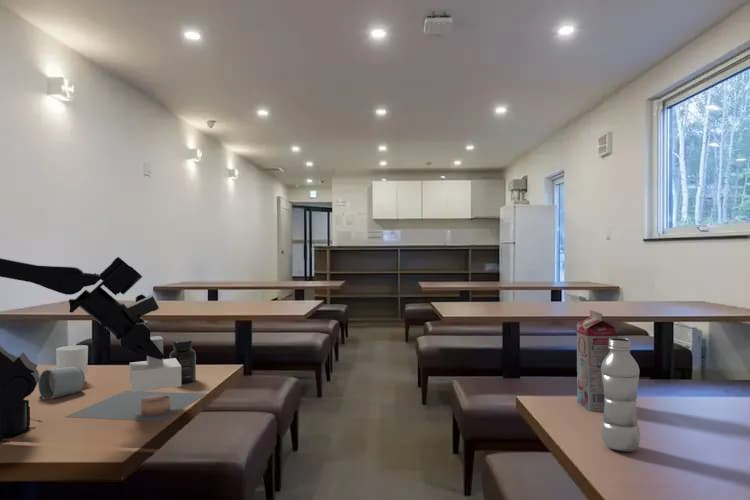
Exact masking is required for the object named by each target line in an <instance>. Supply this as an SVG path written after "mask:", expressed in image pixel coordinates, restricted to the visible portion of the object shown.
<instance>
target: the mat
mask: <svg viewBox="0 0 750 500" xmlns="http://www.w3.org/2000/svg"><path fill="white" fill-rule="evenodd" d="M158 395H165V396H169V397H170V411H169V412H167V413H164V414H161V415H154V416H145V415H142V414H141V400H142V399H144V398H147V397H151V396H158ZM206 395H208V393H200V392H199V393H197V392H196V393H195V392H171V391H170V392H169V391H139V392H132V391H131V390H124V391H121V392H120V393H117V394H115V395H112V396H110V397H108V398H105V399H103V400H101V401H98V402H96V403H94V404H91V405H89V406H87V407H85V408H82V409H79V410H78V411H75V412H73V413H70V414H68V415H66V416H65V418H76V419H99V420H102V419H103V420H121V421H123V420H124V421H143V422H144V421H145V422H146V421H147V422H162V421H164V420H166V419H168V418H170V417H172V415H175V414H176V413H177V412H179V411H181V410H183V409H185V408H186V407H188V406H190V405H192V404H194V403H195V402H197V401H198V400H200V399H202V398H203V397H205V396H206Z"/></svg>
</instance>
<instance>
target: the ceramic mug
mask: <svg viewBox="0 0 750 500" xmlns="http://www.w3.org/2000/svg"><path fill="white" fill-rule="evenodd" d="M85 383H86V382H85V378H84V374H83V372H82V370H81V369H80V368H78V367H71V366H70V367H63V368H57V367H56V368H46V369H45V370H43V371H42V372H41V374H39V381H38V383H37V386H38V391H39V395H40V396H41V398H42V399H44V400H48V399H50V400H53V399H57V398H61V397H64V396H68V395H73V394H76V393H79V392H80V391H82V389H83V388H84V386H85Z"/></svg>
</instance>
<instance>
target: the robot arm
mask: <svg viewBox="0 0 750 500" xmlns="http://www.w3.org/2000/svg"><path fill="white" fill-rule="evenodd" d="M0 278H5V279H9V280H10V279H11V280H16V281H22V282H28V283H32V284H36V285H38V286H40V287H43V288H46V289H48V290H52V291H54V292H57V293H60V294H63V295H67V296H68V295H69V296H72V295H75V294H78V293H79V292H81V293H80V294H79V295H78V296H77V297H76V298H70V299H68V304H69V312H70V314H71V313H74V312H75V311H76V310H77V309H78V308H80V309H82V310H83V311H84V312H85V313H87V314H88V315H89V316H90V317H92V318H93V319H94V320H95V321H96V322H97V323H99V325H100V326H101V328H103V329H106V330H107V331H108V332H109V333H111V334H112V335H114V337H115V339H117V341H119V346H120V348H121V349H122V350H124V351H125V352H126V353H128V352H131V353H136V354H139V355H142V356H146V357H147V356H149V357H153V358H156V359H160V360H161V359H162V358H163V359H164V358H165V355H164V353H163V354H162V352H161V351H160V350H159V349H158V347H157V346H156V345H155V344H154V342H153V341H152V340H151V339H150V337H151V329H150V327H149V326H148V324H147V323H145V322H146V321H145V320H144V319H143V318H142V317H143V316H145V315H147V314H150V313H152V312H156V311H158V310H159V309H160V307H159V305H158V303H157V301H156V299H155V297H154V295H147V296H146V295H144V294H142V293H141V294H138V295H137V296H135V302H132V304H129V305H126V304H124V303H120V302H119V301H118V300H117V299H115V298H114V297H113V296H112V295H110V293H109V292H111V293H112V294H113V295H114V296H117V295H119V294H122V295H125V294H126V293H127V292H128V291H129V290H130V289H132V288H133V287H134V286H135V284H137V283H138V282H139V281H140V280H141V279H142V278H143V276H142V275H141V274H140V273H139V272H138V271H137V270H136V269H135V268H134V267H132V265H129V264H127V263H126V261H124V260H123V259H122V258H120V256H118V257H116V258H115V259H114V260H113V261H112V262H111V264H109V265H108V266H107V267H106V268H105V269H104V270H103V271H102V272H100V273H96V272H94V273H89V272H84V271H83V270H82V269H80V268H79V267H75V266H65V265H63V266H61V265H44V264H43V265H42V264H40V265H39V264H34V263H29V262H24V261H23V262H22V261H18V260H13V259H9V258H3V257H0ZM100 280H101V282H100V283H99V284H98V285H96V284H97V283H98V282H99V281H100ZM94 285H96V286H95V288H93V290H91V291H89V290H88V289H85V290H84V291H81V290H83V288H85V287H86V288H87V287H90V286H94ZM102 286H104V287H105V288H106V289H107V290H109V292H107V291H106V289H103V288H102ZM37 368H38V364H36V363H34V362H33V361H32V360H30V359H29V357H28V356H27V354H25V352H21V353H20V354H19V355H18V356H16V355H14V354H11V353H9V351H6V349H4V348H3V347H2V346H1V345H0V441H4V442H5V441H8V440H10V439H13V438H16V437H18V436H21V435H22V434H24V433H27V432H30V431H32V430H34V429H36V426H31V407H30V403H29V402H30V401H29V399H26V398H27V397H29V396H30V395H32V393H34V391H35V389H36V387H37V386H38V382H39V377H40V372H39V370H38V369H37Z"/></svg>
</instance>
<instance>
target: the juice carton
mask: <svg viewBox="0 0 750 500" xmlns="http://www.w3.org/2000/svg"><path fill="white" fill-rule="evenodd" d="M609 338H618V328H617V327H616V326H614V325H612V324H610V323H609V322H606V321H605V320H604V319H603V313H601V312H597V311H594V310H591V309H590V310H589V317H587V318H585V319H583V320H582V321H579V322H578V323H577V324H576V373H577V374H576V376H577V377H576V378H577V379H576V384H577V385H576V386H577V388H576V389H577V391H576V392H577V398H576V399H577V401H576V402H577V403H578V404H579V405H580V406H582V407H583V408H584V409H586V410H587V411H589V412H602V411H603V412H604V405H605V401H604V397H605V396H604V386H603V379H602V372H601V365H602V362H603V360H604V359H605V357H606V356H607V355H608V354H609V352H610V349H608V346H609Z"/></svg>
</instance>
